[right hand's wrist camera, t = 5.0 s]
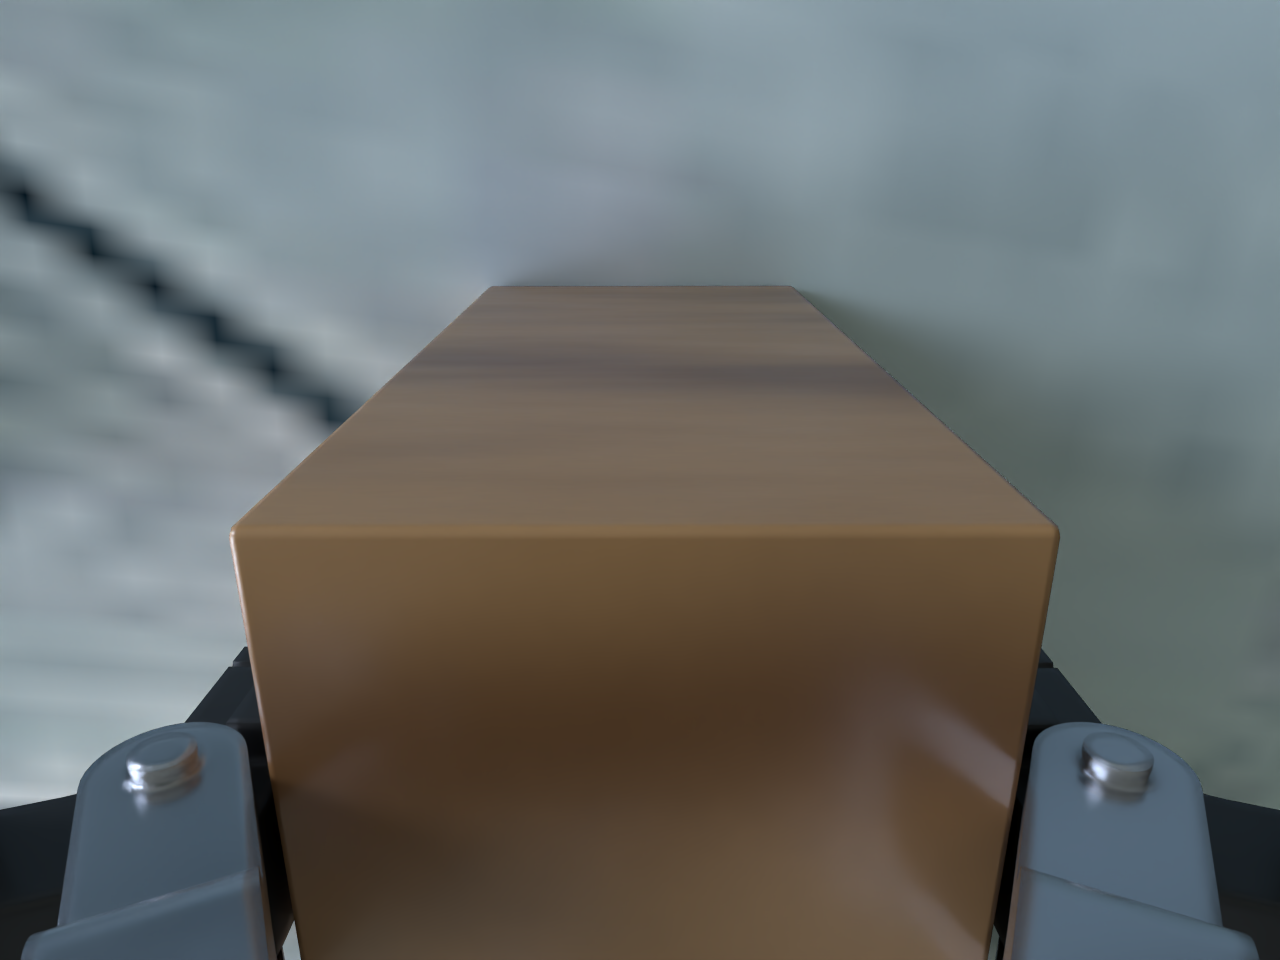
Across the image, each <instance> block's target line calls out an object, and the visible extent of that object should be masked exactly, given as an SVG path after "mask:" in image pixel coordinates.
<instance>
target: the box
mask: <svg viewBox="0 0 1280 960" xmlns="http://www.w3.org/2000/svg"><path fill="white" fill-rule="evenodd" d="M229 540H230V546H231V552H232V558H233V563H234V569H235V575H236V581H237V587H238V593H239V599H240V604H241V610H242V616H243V622H244V628H245V634H246V640H247V645H248V651H249V657H250V663H251V669H252V675H253V681H254V686H255V692H256V698H257V704H258V710H259V716H260V722H261V727H262V733H263V739H264V745H265V751H266V757H267V763H268V768H269V774H270V780H271V786H272V792H273V798H274V803H275V809H276V815H277V821H278V827H279V833H280V839H281V844H282V850H283V856H284V862H285V868H286V874H287V880H288V885H289V891H290V897H291V903H292V909H293V915H294V921H295V926H296V932H297V938H298V944H299V950H300V956H301V960H987V959H988V954H989V948H990V942H991V936H992V930H993V924H994V919H995V913H996V907H997V901H998V895H999V890H1000V884H1001V878H1002V872H1003V866H1004V861H1005V855H1006V849H1007V843H1008V837H1009V831H1010V826H1011V820H1012V814H1013V808H1014V802H1015V797H1016V791H1017V785H1018V779H1019V773H1020V768H1021V762H1022V756H1023V750H1024V744H1025V738H1026V733H1027V727H1028V721H1029V715H1030V709H1031V704H1032V698H1033V692H1034V686H1035V680H1036V675H1037V669H1038V663H1039V657H1040V651H1041V645H1042V640H1043V634H1044V628H1045V622H1046V616H1047V611H1048V605H1049V599H1050V593H1051V587H1052V582H1053V576H1054V570H1055V564H1056V558H1057V552H1058V547H1059V541H1060V533H1059V529H1058V526H1057V525H1056V524H1055V523H1054V522H1053V521H1051V520H1050V519H1049V518H1048V517H1047V516H1046V515H1045V514H1044V513H1043V512H1042V511H1040V510H1039V509H1038V508H1037V507H1036V506H1035V505H1034V504H1033V503H1032V502H1030V501H1029V500H1028V499H1027V498H1026V497H1025V496H1024V495H1023V494H1022V493H1020V492H1019V491H1018V490H1017V489H1016V488H1015V487H1014V486H1013V485H1012V484H1010V483H1009V482H1008V481H1007V480H1006V479H1005V478H1004V477H1003V476H1002V475H1000V474H999V473H998V472H997V471H996V470H995V469H994V468H993V467H992V466H991V465H989V464H988V463H987V462H986V461H985V460H984V459H983V458H982V457H981V456H979V455H978V454H977V453H976V452H975V451H974V450H973V449H972V448H971V447H969V446H968V445H967V444H966V443H965V442H964V441H963V440H962V439H961V438H959V437H958V436H957V435H956V434H955V433H954V432H953V431H952V430H951V429H950V428H948V427H947V426H946V425H945V424H944V423H943V422H942V421H941V420H940V419H938V418H937V417H936V416H935V415H934V414H933V413H932V412H931V411H930V410H928V409H927V408H926V407H925V406H924V405H923V404H922V403H921V402H920V401H918V400H917V399H916V398H915V397H914V396H913V395H912V394H911V393H910V392H909V391H907V390H906V389H905V388H904V387H903V386H902V385H901V384H900V383H899V382H897V381H896V380H895V379H894V378H893V377H892V376H891V375H890V374H889V373H887V372H886V371H885V370H884V369H883V368H882V367H881V366H880V365H879V364H877V363H876V362H875V361H874V360H873V359H872V358H871V357H870V356H869V355H868V354H866V353H865V352H864V351H863V350H862V349H861V348H860V347H859V346H858V345H856V344H855V343H854V342H853V341H852V340H851V339H850V338H849V337H848V336H846V335H845V334H844V333H843V332H842V331H841V330H840V329H839V328H838V327H836V326H835V325H834V324H833V323H832V322H831V321H830V320H829V319H828V318H827V317H825V316H824V315H823V314H822V313H821V312H820V311H819V310H818V309H817V308H815V307H814V306H813V305H812V304H811V303H810V302H809V301H808V300H807V299H805V298H804V297H803V296H802V295H801V294H800V293H799V292H798V291H797V290H795V289H794V288H793V287H791V286H492V287H490V288H488V289H487V290H486V291H485V292H484V293H483V294H482V295H481V296H480V297H479V298H478V299H476V300H475V301H474V302H473V303H472V304H471V305H470V306H469V307H468V308H467V309H466V310H465V311H464V312H462V313H461V314H460V315H459V316H458V317H457V318H456V319H455V320H454V321H453V322H452V323H451V324H450V325H449V326H447V327H446V328H445V329H444V330H443V331H442V332H441V333H440V334H439V335H438V336H437V337H436V338H435V339H433V340H432V341H431V342H430V343H429V344H428V345H427V346H426V347H425V348H424V349H423V350H422V351H421V352H419V353H418V354H417V355H416V356H415V357H414V358H413V359H412V360H411V361H410V362H409V363H408V364H407V365H406V366H404V367H403V368H402V369H401V370H400V371H399V372H398V373H397V374H396V375H395V376H394V377H393V378H392V379H390V380H389V381H388V382H387V383H386V384H385V385H384V386H383V387H382V388H381V389H380V390H379V391H378V392H376V393H375V394H374V395H373V396H372V397H371V398H370V399H369V400H368V401H367V402H366V403H365V404H364V405H363V406H361V407H360V408H359V409H358V410H357V411H356V412H355V413H354V414H353V415H352V416H351V417H350V418H349V419H347V420H346V421H345V422H344V423H343V424H342V425H341V426H340V427H339V428H338V429H337V430H336V431H335V432H334V433H332V434H331V435H330V436H329V437H328V438H327V439H326V440H325V441H324V442H323V443H322V444H321V445H320V446H318V447H317V448H316V449H315V450H314V451H313V452H312V453H311V454H310V455H309V456H308V457H307V458H306V459H304V460H303V461H302V462H301V463H300V464H299V465H298V466H297V467H296V468H295V469H294V470H293V471H292V472H291V473H289V474H288V475H287V476H286V477H285V478H284V479H283V480H282V481H281V482H280V483H279V484H278V485H277V486H275V487H274V488H273V489H272V490H271V491H270V492H269V493H268V494H267V495H266V496H265V497H264V498H263V499H261V500H260V501H259V502H258V503H257V504H256V505H255V506H254V507H253V508H252V509H251V510H250V511H249V512H248V513H246V514H245V515H244V516H243V517H242V518H241V519H240V520H239V521H238V522H237V523H236V524H235V525H234V526H232V528H231V531H230V535H229Z"/></svg>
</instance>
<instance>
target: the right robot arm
mask: <svg viewBox="0 0 1280 960" xmlns="http://www.w3.org/2000/svg"><path fill="white" fill-rule="evenodd" d="M293 921H294V915H293V909H292V903H291V897H290V891H289V885H288V880H287V874H286V868H285V862H284V856H283V850H282V844H281V839H280V833H279V827H278V821H277V815H276V809H275V803H274V798H273V792H272V786H271V780H270V774H269V768H268V763H267V757H266V751H265V745H264V739H263V733H262V727H261V722H260V716H259V710H258V704H257V698H256V692H255V686H254V681H253V675H252V669H251V663H250V657H249V651H248V647H244V648H243V650H242V651H241V652H240V653H239V655H238V656H237V657H236V658H235V660H234V661H233V667H228V668H227V670H226V671H225V672H224V674H223V675H222V676H221V677H220V679H219V680H218V681H217V682H216V684H215V685H214V686H213V687H212V689H211V690H210V691H209V693H208V694H207V695H206V696H205V698H204V699H203V700H202V701H201V703H200V704H199V705H198V706H197V708H196V709H195V710H194V711H193V713H192V714H191V715H190V717H189V718H188V719H187V720H186V722H185V723H180V724H174V725H169V726H164V727H161V728H157V729H154V730H150V731H148V732H145V733H142V734H139V735H137V736H135V737H133V738H130V739H128V740H126V741H124V742H122V743H120V744H119V745H117V746H115V747H113V748H112V749H110V750H109V751H108V752H106V753H105V754H103V755H102V756H101V757H100V758H98V759H97V760H96V761H95V762H94V763H93V764H92V765H91V766H90V767H89V768H88V769H87V771H86V772H85V773H84V775H83V777H82V778H81V780H80V783H79V786H78V790H77V794H74V795H70V796H66V797H62V798H57V799H52V800H47V801H42V802H37V803H32V804H27V805H22V806H17V807H12V808H7V809H2V810H0V960H285V958H284V952H283V947H282V946H283V944H284V942H285V939H286V937H287V935H288V933H289V930H290V928H291V926H292V924H293ZM994 926H995V928H996V930H997V932H998V935H999V941H998V946H997V952H996V958H995V960H1280V810H1276V809H1271V808H1266V807H1261V806H1256V805H1251V804H1246V803H1241V802H1236V801H1231V800H1226V799H1222V798H1218V797H1214V796H1210V795H1206V794H1203V791H1202V786H1201V783H1200V780H1199V778H1198V777H1197V775H1196V773H1195V772H1194V771H1193V769H1192V768H1191V767H1190V766H1189V765H1188V764H1187V763H1186V762H1185V761H1184V760H1183V759H1182V758H1180V757H1179V756H1178V755H1177V754H1175V753H1174V752H1172V751H1171V750H1170V749H1168V748H1167V747H1165V746H1163V745H1161V744H1160V743H1158V742H1156V741H1154V740H1152V739H1150V738H1147V737H1145V736H1143V735H1141V734H1138V733H1135V732H1132V731H1130V730H1126V729H1123V728H1119V727H1116V726H1111V725H1106V724H1102V723H1101V722H1100V721H1099V720H1098V718H1097V717H1096V716H1095V715H1094V713H1093V712H1092V711H1091V710H1090V708H1089V707H1088V706H1087V705H1086V703H1085V702H1084V701H1083V700H1082V698H1081V697H1080V696H1079V695H1078V693H1077V692H1076V691H1075V690H1074V688H1073V687H1072V686H1071V685H1070V683H1069V682H1068V681H1067V680H1066V678H1065V677H1064V676H1063V675H1062V673H1061V672H1060V671H1059V670H1058V668H1053V662H1052V661H1051V660H1050V658H1049V657H1048V656H1047V655H1046V653H1045V652H1044V651H1043V650H1042V648H1041V651H1040V657H1039V663H1038V669H1037V675H1036V680H1035V686H1034V692H1033V698H1032V704H1031V709H1030V715H1029V721H1028V727H1027V733H1026V738H1025V744H1024V750H1023V756H1022V762H1021V768H1020V773H1019V779H1018V785H1017V791H1016V797H1015V802H1014V808H1013V814H1012V820H1011V826H1010V831H1009V837H1008V843H1007V849H1006V855H1005V861H1004V866H1003V872H1002V878H1001V884H1000V890H999V895H998V901H997V907H996V913H995V919H994Z"/></svg>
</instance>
